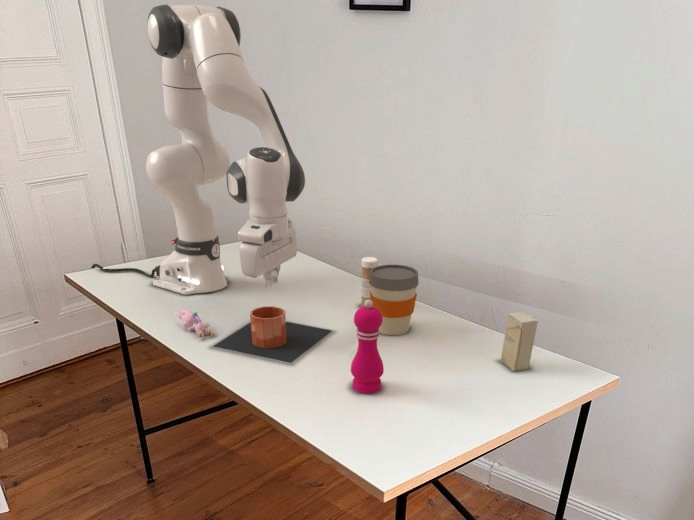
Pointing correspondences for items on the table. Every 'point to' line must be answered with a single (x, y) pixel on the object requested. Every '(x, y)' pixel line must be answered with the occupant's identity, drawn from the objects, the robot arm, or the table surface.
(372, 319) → the pepper mill
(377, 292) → the reusable coffee cup
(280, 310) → the cup
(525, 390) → the table surface
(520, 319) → the cosmetic box
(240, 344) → the mat
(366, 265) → the spice jar
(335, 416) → the table surface
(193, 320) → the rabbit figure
